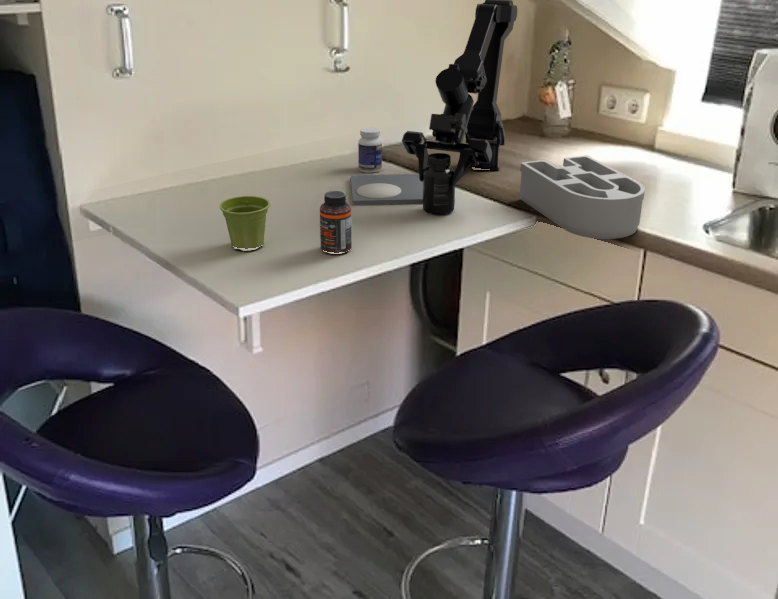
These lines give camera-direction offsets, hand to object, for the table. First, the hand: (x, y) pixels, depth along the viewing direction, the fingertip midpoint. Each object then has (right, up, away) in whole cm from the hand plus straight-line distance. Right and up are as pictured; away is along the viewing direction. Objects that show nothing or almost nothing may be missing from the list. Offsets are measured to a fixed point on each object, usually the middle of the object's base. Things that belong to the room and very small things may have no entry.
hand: (436, 182), depth 180 cm
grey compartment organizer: (+31, -7, +2) cm, 32 cm away
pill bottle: (-15, +7, +30) cm, 34 cm away
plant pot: (-37, -14, -14) cm, 42 cm away
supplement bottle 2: (+1, -6, +4) cm, 7 cm away
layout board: (-7, 0, +16) cm, 18 cm away
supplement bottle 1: (-20, -15, -15) cm, 29 cm away
